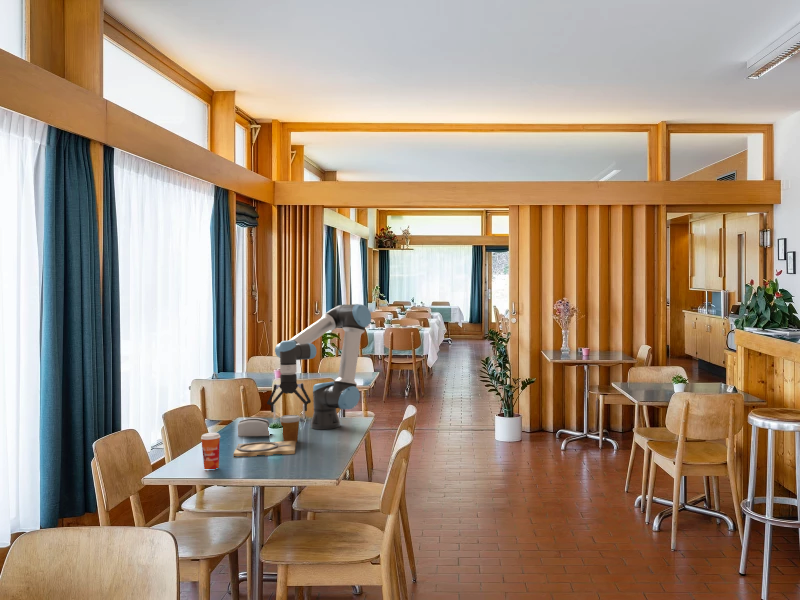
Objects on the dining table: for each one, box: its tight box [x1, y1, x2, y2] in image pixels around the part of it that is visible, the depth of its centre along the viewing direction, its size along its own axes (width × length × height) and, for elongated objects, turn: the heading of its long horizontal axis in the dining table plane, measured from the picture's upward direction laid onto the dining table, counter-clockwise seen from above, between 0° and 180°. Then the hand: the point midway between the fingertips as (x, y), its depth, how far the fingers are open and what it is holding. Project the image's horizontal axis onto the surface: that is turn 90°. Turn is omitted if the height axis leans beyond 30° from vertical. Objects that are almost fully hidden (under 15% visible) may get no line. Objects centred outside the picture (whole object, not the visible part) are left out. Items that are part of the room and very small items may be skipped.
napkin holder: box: [237, 417, 271, 437], centre depth 345 cm, size 17×5×10 cm, turn 85°
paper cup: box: [200, 432, 221, 469], centre depth 279 cm, size 8×8×14 cm
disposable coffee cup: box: [279, 414, 301, 443], centre depth 327 cm, size 10×10×12 cm
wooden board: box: [233, 440, 297, 457], centre depth 310 cm, size 26×20×2 cm
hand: (289, 418), depth 326 cm, fingers open, 13 cm apart
